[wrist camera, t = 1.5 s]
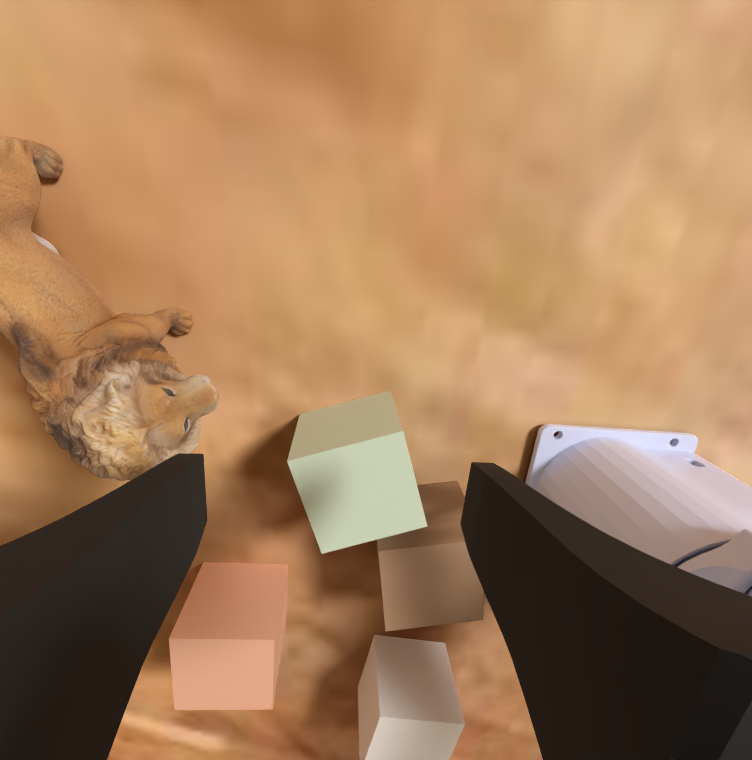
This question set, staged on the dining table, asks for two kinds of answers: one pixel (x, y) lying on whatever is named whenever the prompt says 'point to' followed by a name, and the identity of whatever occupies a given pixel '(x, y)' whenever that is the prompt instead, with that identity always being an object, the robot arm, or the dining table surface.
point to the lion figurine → (88, 343)
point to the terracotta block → (230, 637)
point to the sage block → (355, 473)
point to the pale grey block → (408, 701)
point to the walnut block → (430, 567)
